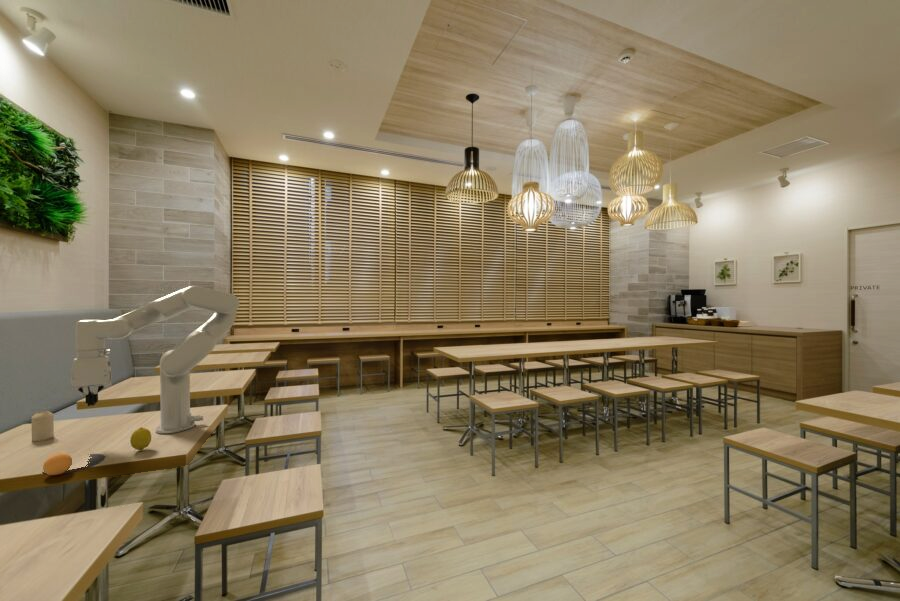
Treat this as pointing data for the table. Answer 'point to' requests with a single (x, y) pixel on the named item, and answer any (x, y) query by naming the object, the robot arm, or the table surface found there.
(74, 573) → the table surface
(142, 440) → the lemon
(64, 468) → the ball
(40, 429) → the candle
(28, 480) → the table surface
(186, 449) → the table surface
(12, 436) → the table surface
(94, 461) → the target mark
